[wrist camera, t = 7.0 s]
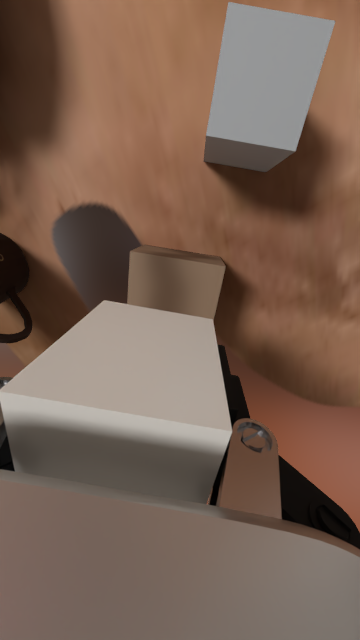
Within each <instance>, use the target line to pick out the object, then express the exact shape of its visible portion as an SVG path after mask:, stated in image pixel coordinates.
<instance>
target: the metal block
mask: <svg viewBox="0 0 360 640" xmlns="http://www.w3.org/2000/svg"><path fill="white" fill-rule="evenodd" d="M225 268H226V266H225V264H224V263H223V261H222V259H221V258H220V257H218V256H212V255H206V254H199V253H193V252H187V251H181V250H174V249H168V248H162V247H156V246H149V245H143V246H141V247H139V248H136V249H134V250H132V251H130V263H129V282H128V302H127V304H128V305H134V306H140V307H145V308H151V309H157V310H163V311H168V312H174V313H180V314H185V315H191V316H197V317H203V318H208V319H213V321H214V316H215V312H216V307H217V303H218V299H219V294H220V290H221V285H222V281H223V276H224V272H225Z"/></svg>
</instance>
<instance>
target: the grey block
mask: <svg viewBox="0 0 360 640" xmlns="http://www.w3.org/2000/svg"><path fill="white" fill-rule="evenodd" d="M334 24H335V21H333V20H327V19H321V18H316V17H310V16H304V15H299V14H293V13H287V12H282V11H276V10H270V9H265V8H259V7H254V6H248V5H242V4H237V3H231V2H229V3H228V8H227V14H226V20H225V26H224V32H223V38H222V44H221V50H220V56H219V62H218V68H217V74H216V80H215V86H214V92H213V98H212V104H211V110H210V116H209V122H208V128H207V134H206V142H205V152H204V161H205V162H211V163H216V164H222V165H227V166H233V167H239V168H244V169H250V170H256V171H261V172H267V171H268V170H270V169H271V168H273V167H274V166H276V165H277V164H278V163H280V162H281V161H283V160H284V159H285V158H287V157H288V156H290V155H291V154H292V153H294V152H295V151H296V148H297V145H298V142H299V138H300V135H301V132H302V129H303V125H304V122H305V119H306V115H307V112H308V109H309V106H310V102H311V99H312V96H313V93H314V89H315V86H316V83H317V79H318V76H319V73H320V70H321V66H322V63H323V60H324V57H325V53H326V50H327V47H328V43H329V40H330V37H331V34H332V30H333V27H334Z"/></svg>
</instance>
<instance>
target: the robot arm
mask: <svg viewBox="0 0 360 640" xmlns="http://www.w3.org/2000/svg"><path fill="white" fill-rule="evenodd" d="M217 346H218V352H219V357H220V363H221V369H222V375H223V380H224V386H225V392H226V398H227V404H228V409H229V415H230V421H231V427H232V434H231V437H230V439H229V442H228V445H227V448H226V451H225V453H224V456H223V459H222V462H221V464H220V467H219V470H218V473H217V476H216V478H215V481H214V484H213V487H212V490H211V492H210V496H209V501H208V505H207V504H201V503H195V502H189V501H184V500H178V499H172V498H167V497H161V496H155V495H150V494H144V493H138V492H133V491H127V490H121V489H115V488H109V487H103V486H98V485H92V484H86V483H80V482H74V481H68V480H62V479H56V478H50V477H44V476H38V475H33V474H26V473H20V472H15V469H14V465H13V460H12V455H11V450H10V446H9V441H8V436H7V431H6V427H5V422H4V417H3V412H2V408H1V403H0V640H360V533H359V531H358V529H357V527H356V525H355V523H354V522H353V521H352V519H351V518H350V517H349V516H348V514H347V513H346V512H345V511H344V510H343V509H342V508H341V507H340V506H339V505H337V504H336V503H335V502H334V501H333V500H331V499H330V498H329V497H328V496H327V495H326V494H324V493H323V492H322V491H321V490H320V489H318V488H317V487H316V486H315V485H314V484H312V483H311V482H310V481H309V480H307V478H305V477H304V476H303V475H302V474H300V473H299V472H298V471H297V470H296V469H295V468H294V467H292V466H291V465H290V464H289V463H288V462H286V461H285V460H284V459H283V458H282V457H281V456H279V455H278V444H277V440H276V438H275V436H274V435H273V433H272V432H271V431H270V430H269V428H267V427H266V426H265V425H264V424H262V423H260V422H258V421H256V420H253V419H250V416H249V412H248V408H247V404H246V401H245V397H244V394H243V390H242V386H241V383H240V379H239V377H238V376H235V375H231V374H230V370H229V365H228V360H227V356H226V352H225V347H224V346H222V345H217ZM12 379H13V378H11V377H0V389H1V388H2V387H3V386H5V385H6V384H7V383H8V382H9V381H10V380H12Z"/></svg>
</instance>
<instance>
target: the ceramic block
mask: <svg viewBox="0 0 360 640" xmlns="http://www.w3.org/2000/svg"><path fill="white" fill-rule="evenodd" d="M0 403H1V408H2V412H3V417H4V422H5V427H6V431H7V436H8V441H9V446H10V450H11V455H12V460H13V465H14V469H15V472H20V473H26V474H33V475H38V476H44V477H50V478H56V479H62V480H68V481H74V482H80V483H86V484H92V485H98V486H103V487H109V488H115V489H121V490H127V491H133V492H138V493H144V494H150V495H155V496H161V497H167V498H172V499H178V500H184V501H189V502H195V503H201V504H206V503H207V500H208V498H209V495H210V492H211V490H212V487H213V484H214V481H215V478H216V476H217V473H218V470H219V467H220V464H221V462H222V459H223V456H224V453H225V451H226V448H227V445H228V442H229V439H230V437H231V434H232V427H231V421H230V415H229V409H228V404H227V398H226V392H225V386H224V380H223V375H222V369H221V363H220V357H219V352H218V346H217V340H216V334H215V328H214V323H213V319H208V318H203V317H197V316H191V315H185V314H180V313H174V312H168V311H163V310H157V309H151V308H145V307H140V306H134V305H128V304H123V303H116V302H111V301H105V300H104V301H103V302H101V303H100V304H99V305H98V306H97V307H96V308H94V309H93V310H92V311H91V312H90V313H89V314H87V315H86V316H85V317H84V318H83V319H82V320H80V321H79V322H78V323H77V324H76V325H75V326H73V327H72V328H71V329H70V330H69V331H68V332H66V333H65V334H64V335H63V336H62V337H61V338H59V339H58V340H57V341H56V342H55V343H54V344H52V345H51V346H50V347H49V348H48V349H47V350H45V351H44V352H43V353H42V354H41V355H40V356H38V357H37V358H36V359H35V360H34V361H33V362H31V363H30V364H29V365H28V366H27V367H26V368H24V369H23V370H22V371H21V372H20V373H19V374H17V375H16V376H15V377H14V378H13V379H12V380H10V381H9V382H8V383H7V384H6V385H5V386H3V387H2V388H1V389H0Z"/></svg>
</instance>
